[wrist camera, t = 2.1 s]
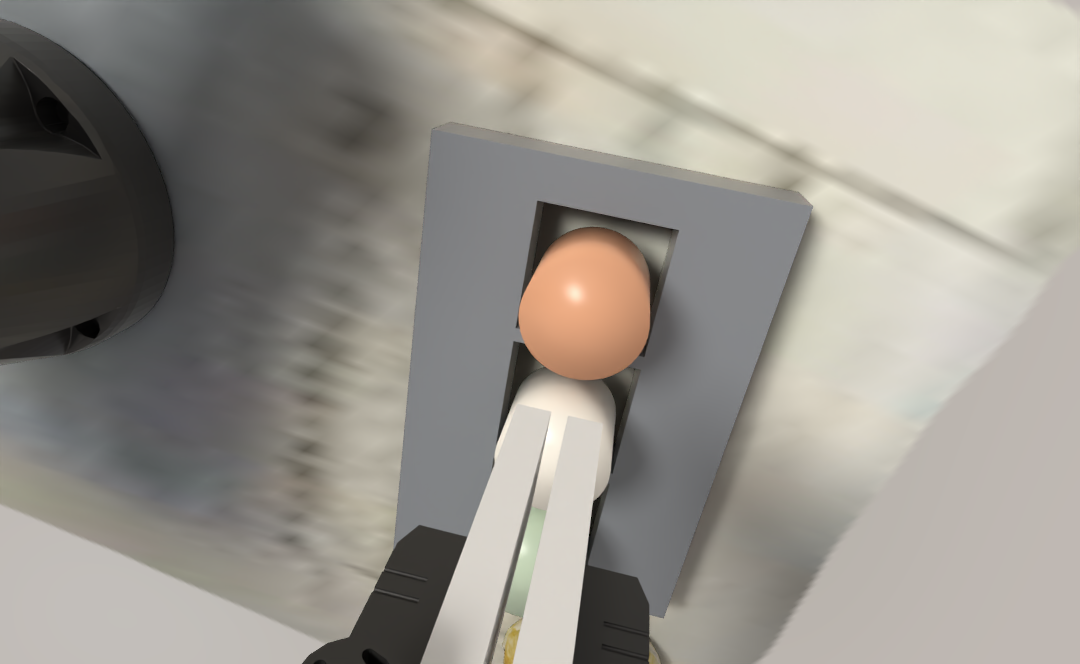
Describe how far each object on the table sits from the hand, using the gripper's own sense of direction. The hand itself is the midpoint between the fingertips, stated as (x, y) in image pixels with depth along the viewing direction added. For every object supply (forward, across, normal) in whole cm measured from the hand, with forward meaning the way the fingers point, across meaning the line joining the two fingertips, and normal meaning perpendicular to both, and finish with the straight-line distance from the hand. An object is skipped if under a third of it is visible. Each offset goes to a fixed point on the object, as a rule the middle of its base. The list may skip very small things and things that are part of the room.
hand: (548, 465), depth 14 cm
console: (+14, 0, -6) cm, 16 cm away
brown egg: (+12, 0, 0) cm, 12 cm away
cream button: (+12, 0, -6) cm, 13 cm away
